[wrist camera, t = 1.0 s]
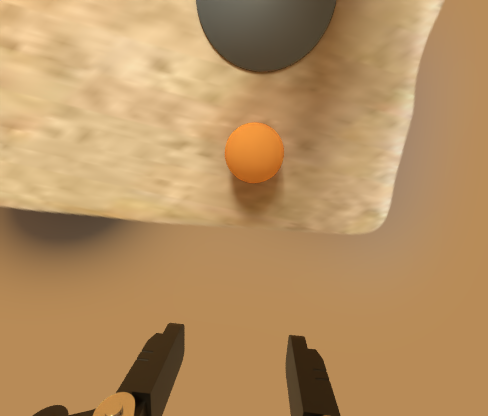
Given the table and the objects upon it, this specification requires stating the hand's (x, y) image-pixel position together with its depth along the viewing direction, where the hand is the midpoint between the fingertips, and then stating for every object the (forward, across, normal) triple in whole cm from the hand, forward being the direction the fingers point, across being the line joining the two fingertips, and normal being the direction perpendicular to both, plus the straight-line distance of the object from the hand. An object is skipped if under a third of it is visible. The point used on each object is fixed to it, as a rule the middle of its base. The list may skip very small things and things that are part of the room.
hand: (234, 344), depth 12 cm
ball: (+15, 0, -10) cm, 17 cm away
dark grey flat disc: (+17, 0, -25) cm, 31 cm away
